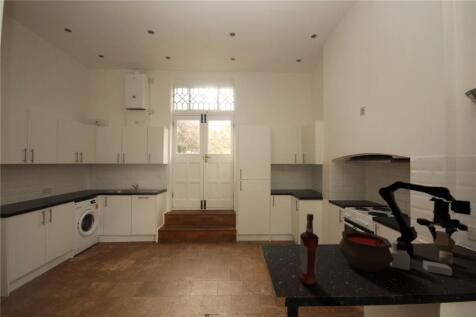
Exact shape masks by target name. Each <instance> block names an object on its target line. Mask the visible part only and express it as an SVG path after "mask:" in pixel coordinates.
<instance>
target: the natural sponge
mask: <svg viewBox="0 0 476 317" xmlns="http://www.w3.org/2000/svg"><path fill="white" fill-rule="evenodd" d="M433 245H434V246H435V247H436V248H438V249H440V251H446V252H449V253H451V252H452V251H453V250H454V248H455V246H456V240H454V239H453V238H452V236H451V237H450V238H449V240H448V246H444V245H438V244H436V243H434V242H433Z"/></svg>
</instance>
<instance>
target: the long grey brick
mask: <svg viewBox="0 0 476 317" xmlns="http://www.w3.org/2000/svg"><path fill="white" fill-rule="evenodd" d="M422 269H424V270H425V271H426V272H428V273H435V274H439V275H446V276H451V277H452V276H453V269H452V268H451V267H450V266H449V264H445V263H441V262H434V261H433V262H432V261H428V260H422Z"/></svg>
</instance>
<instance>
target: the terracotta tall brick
mask: <svg viewBox="0 0 476 317" xmlns="http://www.w3.org/2000/svg"><path fill="white" fill-rule="evenodd" d="M435 236H436V238H435V240H434V239H433V238H432V243H433V244H434V243H436V244H438V245H444V246H448V237H449V234H447V233H446V232H445V231H442V230H435Z"/></svg>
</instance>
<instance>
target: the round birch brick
mask: <svg viewBox="0 0 476 317" xmlns="http://www.w3.org/2000/svg"><path fill="white" fill-rule="evenodd" d="M438 257H439V263H441V264H446V265H448V266H449V265H451V266H452V265H453V260H454V259H453V258H454V254H453V253H452V252H446V251H442V250H439V256H438Z"/></svg>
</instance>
